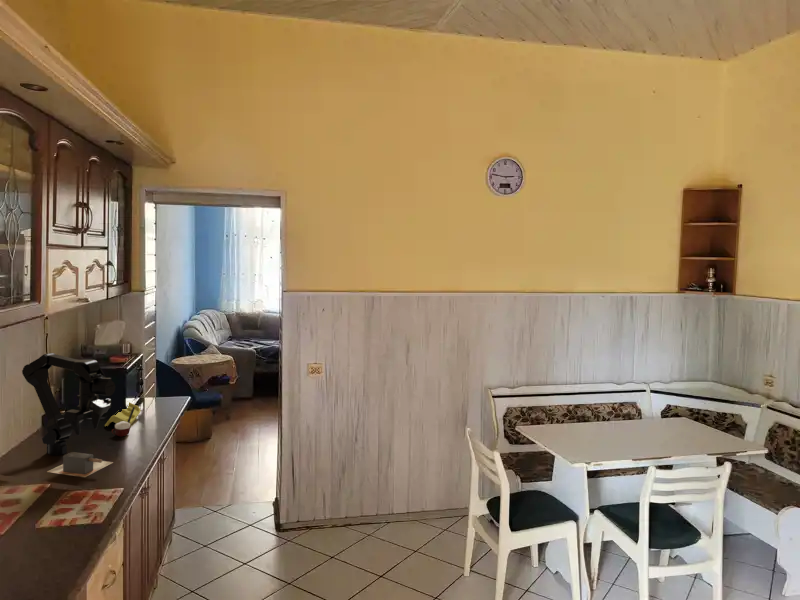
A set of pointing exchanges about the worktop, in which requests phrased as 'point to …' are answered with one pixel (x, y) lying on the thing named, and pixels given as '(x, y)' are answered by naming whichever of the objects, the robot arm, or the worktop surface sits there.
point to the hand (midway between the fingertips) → (86, 431)
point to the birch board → (96, 467)
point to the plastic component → (125, 415)
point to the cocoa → (123, 426)
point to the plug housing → (79, 463)
